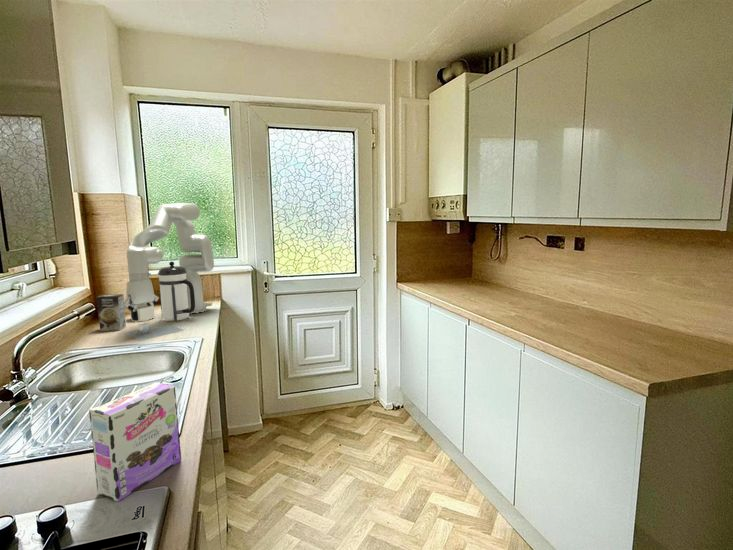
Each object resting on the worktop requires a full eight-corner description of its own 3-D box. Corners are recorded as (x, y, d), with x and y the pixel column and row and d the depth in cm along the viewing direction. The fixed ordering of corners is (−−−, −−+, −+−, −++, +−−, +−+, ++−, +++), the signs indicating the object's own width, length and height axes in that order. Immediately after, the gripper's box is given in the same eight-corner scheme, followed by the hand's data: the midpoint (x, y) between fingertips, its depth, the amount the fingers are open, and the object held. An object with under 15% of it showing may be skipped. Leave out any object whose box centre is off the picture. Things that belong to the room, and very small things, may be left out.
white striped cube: (145, 316, 178) (144, 304, 177) (154, 317, 175) (153, 305, 175) (131, 319, 172) (130, 307, 172) (140, 320, 170) (139, 308, 169)
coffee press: (156, 326, 190) (151, 264, 186) (162, 319, 205) (157, 260, 201) (196, 323, 195) (191, 262, 191) (199, 316, 210) (194, 259, 206)
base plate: (170, 327, 188) (169, 324, 188) (185, 333, 178) (185, 330, 178) (125, 336, 174) (124, 333, 174) (138, 343, 164) (138, 340, 164)
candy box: (117, 503, 71) (107, 415, 68) (96, 494, 73) (86, 409, 71) (182, 460, 83) (176, 384, 81) (163, 454, 85) (156, 380, 83)
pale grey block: (146, 331, 177) (145, 323, 176) (149, 331, 176) (148, 323, 175) (139, 333, 174) (138, 324, 173) (142, 333, 173) (141, 325, 172)
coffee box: (99, 331, 184) (95, 296, 182) (106, 327, 190) (102, 294, 188) (121, 330, 185) (117, 295, 183) (126, 326, 191) (123, 293, 189)
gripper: (152, 274, 181) (155, 313, 183) (113, 279, 166) (117, 322, 168) (163, 275, 177) (166, 314, 180) (124, 280, 162) (129, 323, 165)
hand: (143, 317), depth 174 cm, fingers closed on white striped cube, 6 cm apart
